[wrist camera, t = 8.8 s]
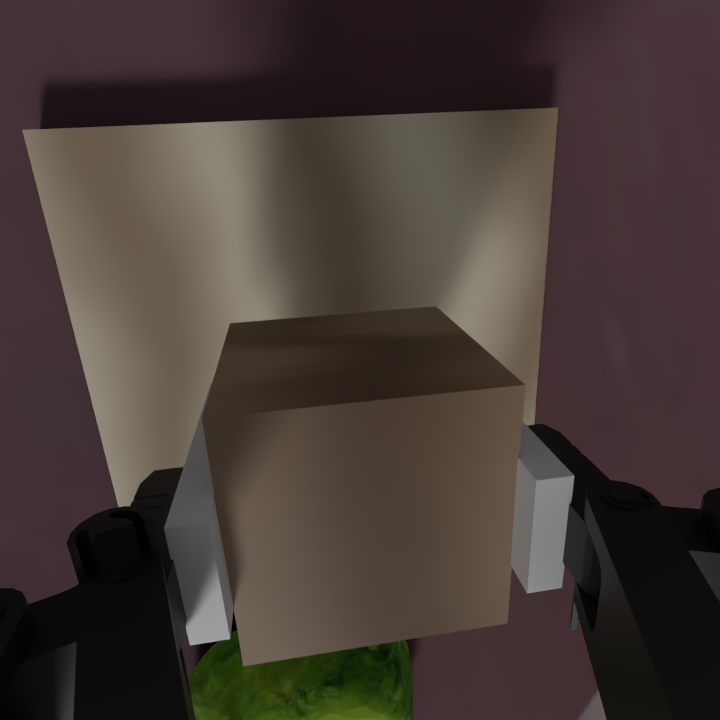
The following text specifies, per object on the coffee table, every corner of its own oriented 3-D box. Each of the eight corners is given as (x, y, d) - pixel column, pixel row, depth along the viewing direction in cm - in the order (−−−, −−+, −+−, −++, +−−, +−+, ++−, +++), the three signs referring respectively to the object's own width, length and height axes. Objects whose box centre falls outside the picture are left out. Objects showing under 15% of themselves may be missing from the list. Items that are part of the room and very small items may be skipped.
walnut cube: (254, 500, 17) (243, 666, 11) (230, 323, 15) (201, 418, 9) (434, 478, 18) (507, 623, 12) (435, 306, 15) (525, 384, 10)
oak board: (143, 557, 23) (136, 578, 22) (39, 132, 17) (22, 129, 16) (515, 506, 25) (526, 521, 24) (541, 111, 19) (558, 107, 18)
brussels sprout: (185, 591, 24) (163, 695, 19) (416, 577, 26) (447, 668, 21) (196, 759, 28) (181, 878, 23) (395, 737, 30) (418, 843, 25)
